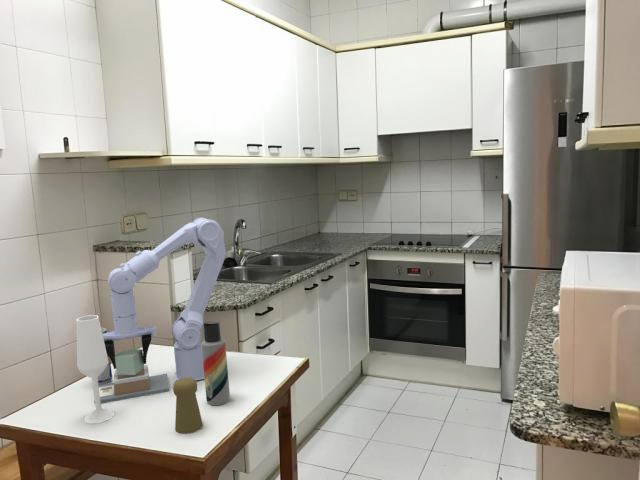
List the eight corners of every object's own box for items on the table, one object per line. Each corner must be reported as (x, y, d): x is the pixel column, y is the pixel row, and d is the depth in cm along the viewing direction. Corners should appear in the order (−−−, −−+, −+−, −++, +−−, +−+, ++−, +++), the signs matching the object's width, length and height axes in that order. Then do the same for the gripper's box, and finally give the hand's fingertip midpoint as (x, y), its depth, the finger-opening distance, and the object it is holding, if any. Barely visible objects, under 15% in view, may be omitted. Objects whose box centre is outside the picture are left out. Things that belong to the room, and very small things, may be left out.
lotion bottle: (202, 404, 131) (194, 324, 128) (214, 394, 136) (207, 317, 133) (222, 406, 129) (215, 325, 126) (234, 396, 134) (227, 318, 131)
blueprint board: (167, 376, 150) (165, 360, 149) (169, 391, 140) (167, 374, 139) (97, 388, 144) (95, 371, 144) (94, 404, 134) (92, 386, 133)
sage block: (144, 367, 143) (142, 349, 142) (135, 374, 138) (132, 356, 137) (126, 367, 144) (124, 349, 143) (117, 374, 139) (114, 356, 138)
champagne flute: (100, 408, 132) (88, 313, 128) (120, 412, 129) (109, 315, 125) (77, 420, 126) (64, 321, 122) (98, 425, 123) (85, 323, 119)
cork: (177, 422, 122) (172, 375, 121) (204, 419, 123) (200, 373, 121) (172, 435, 116) (167, 386, 115) (201, 432, 117) (196, 384, 115)
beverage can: (105, 386, 145) (99, 332, 143) (88, 386, 146) (82, 332, 144) (116, 379, 150) (110, 327, 148) (99, 378, 151) (93, 327, 149)
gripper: (153, 307, 145) (158, 355, 147) (95, 315, 141) (101, 364, 143) (154, 313, 139) (159, 364, 140) (93, 322, 134) (99, 374, 136)
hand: (130, 365), depth 141 cm, fingers closed on sage block, 7 cm apart
